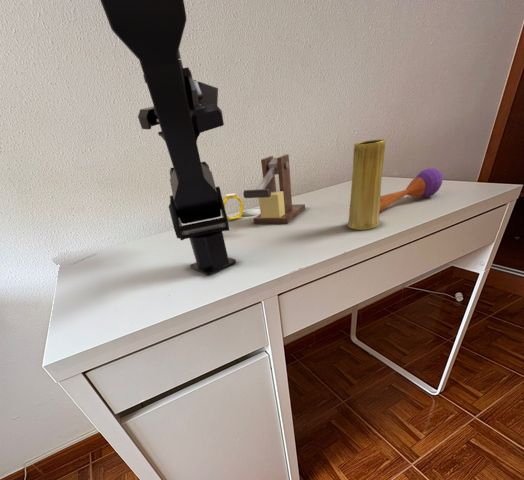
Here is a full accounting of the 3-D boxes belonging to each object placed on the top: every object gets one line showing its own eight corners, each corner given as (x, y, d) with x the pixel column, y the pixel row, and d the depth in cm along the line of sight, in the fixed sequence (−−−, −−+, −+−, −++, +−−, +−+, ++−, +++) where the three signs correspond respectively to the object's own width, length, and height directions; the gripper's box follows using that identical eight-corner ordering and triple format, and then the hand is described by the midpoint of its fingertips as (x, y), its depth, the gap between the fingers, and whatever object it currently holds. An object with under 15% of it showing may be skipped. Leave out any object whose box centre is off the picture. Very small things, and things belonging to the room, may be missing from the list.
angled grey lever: (269, 200, 62) (266, 189, 60) (245, 201, 65) (241, 190, 63) (290, 167, 68) (288, 156, 66) (267, 169, 70) (265, 158, 68)
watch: (227, 222, 76) (222, 197, 73) (222, 221, 78) (217, 196, 75) (246, 216, 79) (242, 192, 75) (241, 215, 80) (237, 191, 77)
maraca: (360, 193, 65) (425, 167, 70) (363, 221, 68) (425, 194, 73) (380, 190, 60) (448, 162, 65) (383, 220, 63) (448, 191, 68)
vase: (384, 222, 60) (394, 137, 51) (369, 231, 57) (377, 143, 48) (357, 219, 64) (362, 140, 55) (342, 228, 61) (344, 145, 52)
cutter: (287, 223, 68) (282, 159, 61) (254, 223, 72) (245, 163, 64) (305, 209, 76) (302, 150, 68) (274, 209, 80) (268, 154, 72)
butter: (279, 218, 69) (277, 194, 66) (261, 218, 71) (258, 195, 68) (285, 213, 71) (283, 191, 68) (266, 214, 73) (264, 192, 70)
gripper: (239, 49, 44) (253, 166, 56) (174, 59, 55) (197, 156, 66) (179, 60, 40) (208, 185, 51) (120, 69, 50) (155, 171, 61)
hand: (192, 172), depth 57 cm, fingers closed
